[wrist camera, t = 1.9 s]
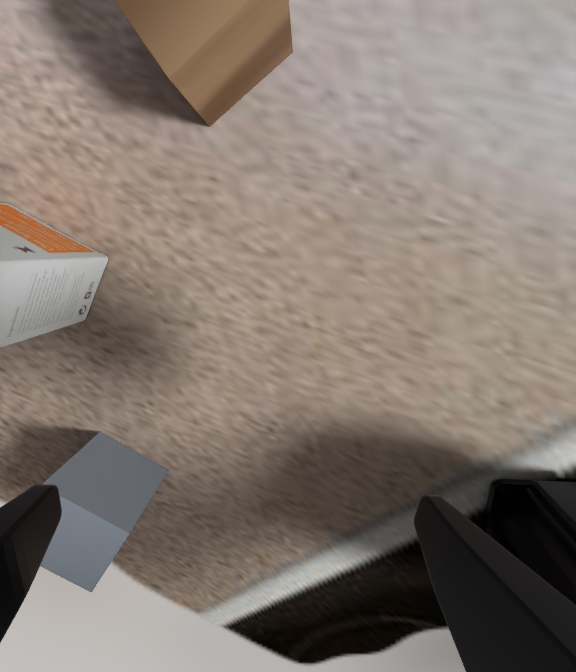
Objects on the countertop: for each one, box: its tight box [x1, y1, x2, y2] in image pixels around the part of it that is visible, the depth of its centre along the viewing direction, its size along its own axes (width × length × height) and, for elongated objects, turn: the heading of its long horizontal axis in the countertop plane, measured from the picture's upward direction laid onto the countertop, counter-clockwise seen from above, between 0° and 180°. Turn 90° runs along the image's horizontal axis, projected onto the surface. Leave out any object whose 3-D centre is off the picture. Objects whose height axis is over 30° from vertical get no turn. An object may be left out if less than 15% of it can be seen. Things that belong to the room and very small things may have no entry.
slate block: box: [40, 431, 169, 592], centre depth 20 cm, size 5×5×5 cm
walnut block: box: [114, 0, 293, 127], centre depth 13 cm, size 5×5×5 cm
